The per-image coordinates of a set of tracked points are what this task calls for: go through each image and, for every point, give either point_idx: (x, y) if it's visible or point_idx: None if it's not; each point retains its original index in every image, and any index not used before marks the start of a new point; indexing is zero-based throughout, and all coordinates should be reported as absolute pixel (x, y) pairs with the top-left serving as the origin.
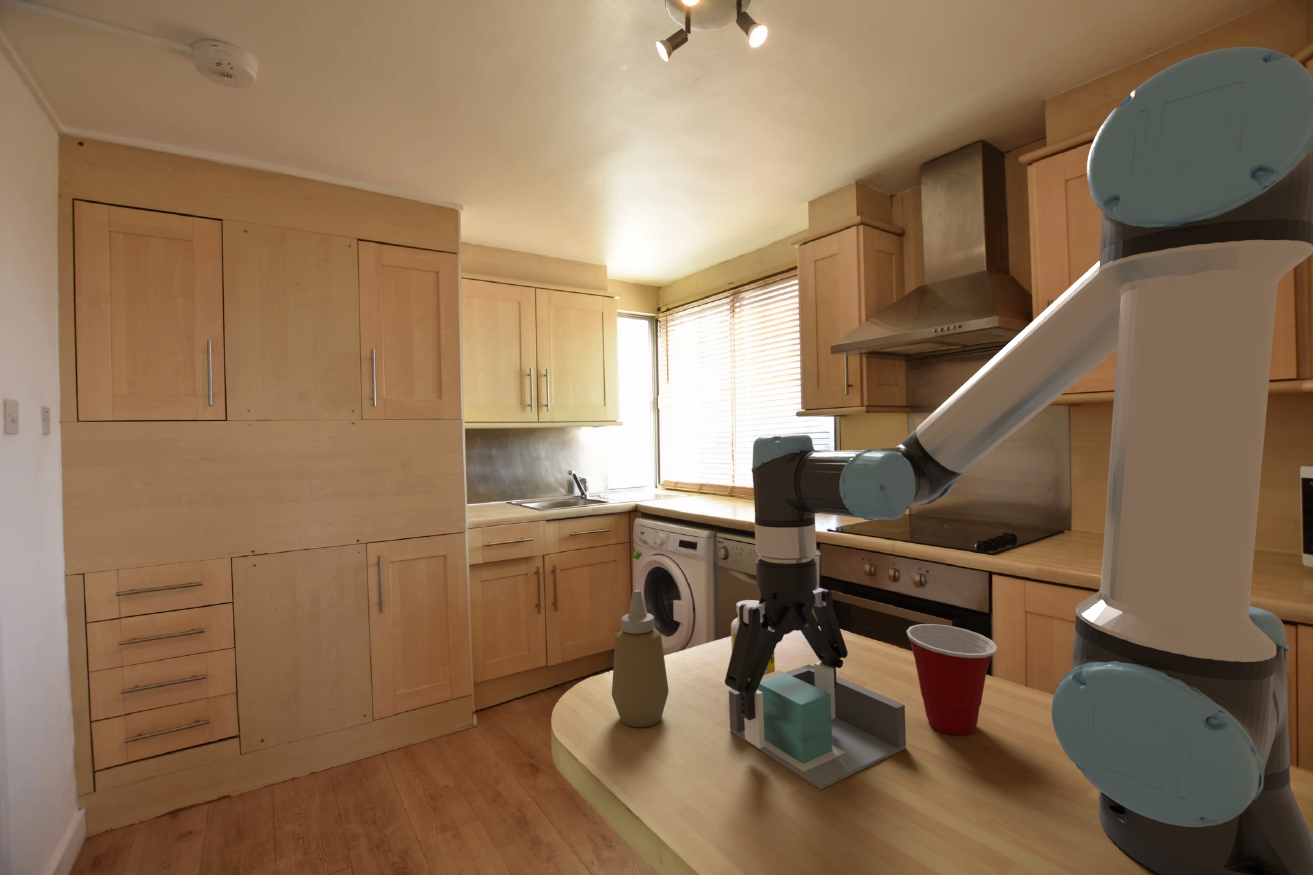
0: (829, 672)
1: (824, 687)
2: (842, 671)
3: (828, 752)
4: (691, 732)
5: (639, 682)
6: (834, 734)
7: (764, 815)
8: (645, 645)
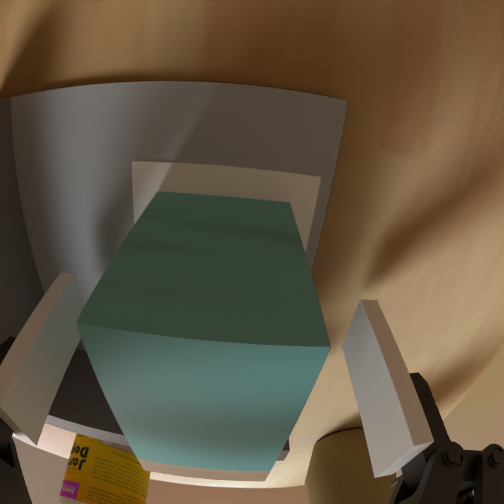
0: (5, 396)
1: (43, 361)
2: None
3: (174, 192)
4: (332, 402)
5: (391, 488)
6: (89, 243)
7: (494, 153)
8: None
